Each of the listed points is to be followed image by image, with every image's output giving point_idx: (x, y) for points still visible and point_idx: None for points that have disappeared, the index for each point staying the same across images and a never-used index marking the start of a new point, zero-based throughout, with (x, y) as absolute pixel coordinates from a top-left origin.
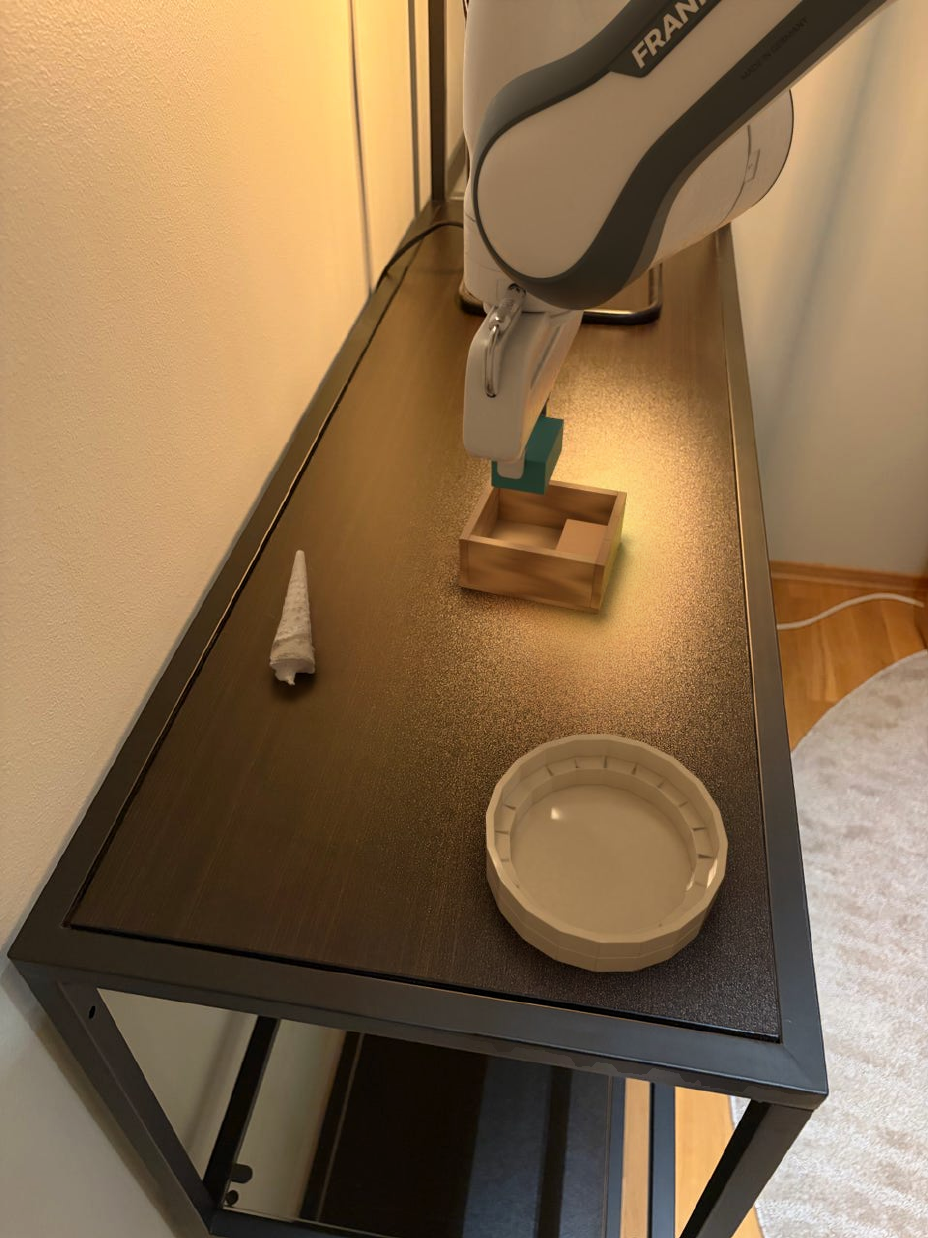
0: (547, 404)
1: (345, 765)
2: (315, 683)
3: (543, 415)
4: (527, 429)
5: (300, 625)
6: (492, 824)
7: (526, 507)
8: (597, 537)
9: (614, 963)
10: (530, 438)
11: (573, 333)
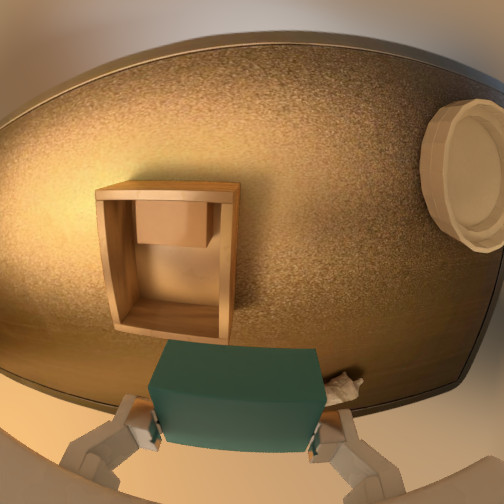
0: (142, 426)
1: (410, 330)
2: (349, 366)
3: (153, 412)
4: (479, 496)
5: (329, 398)
6: (492, 247)
7: (129, 282)
8: (156, 206)
9: None
10: (241, 427)
11: (11, 464)
